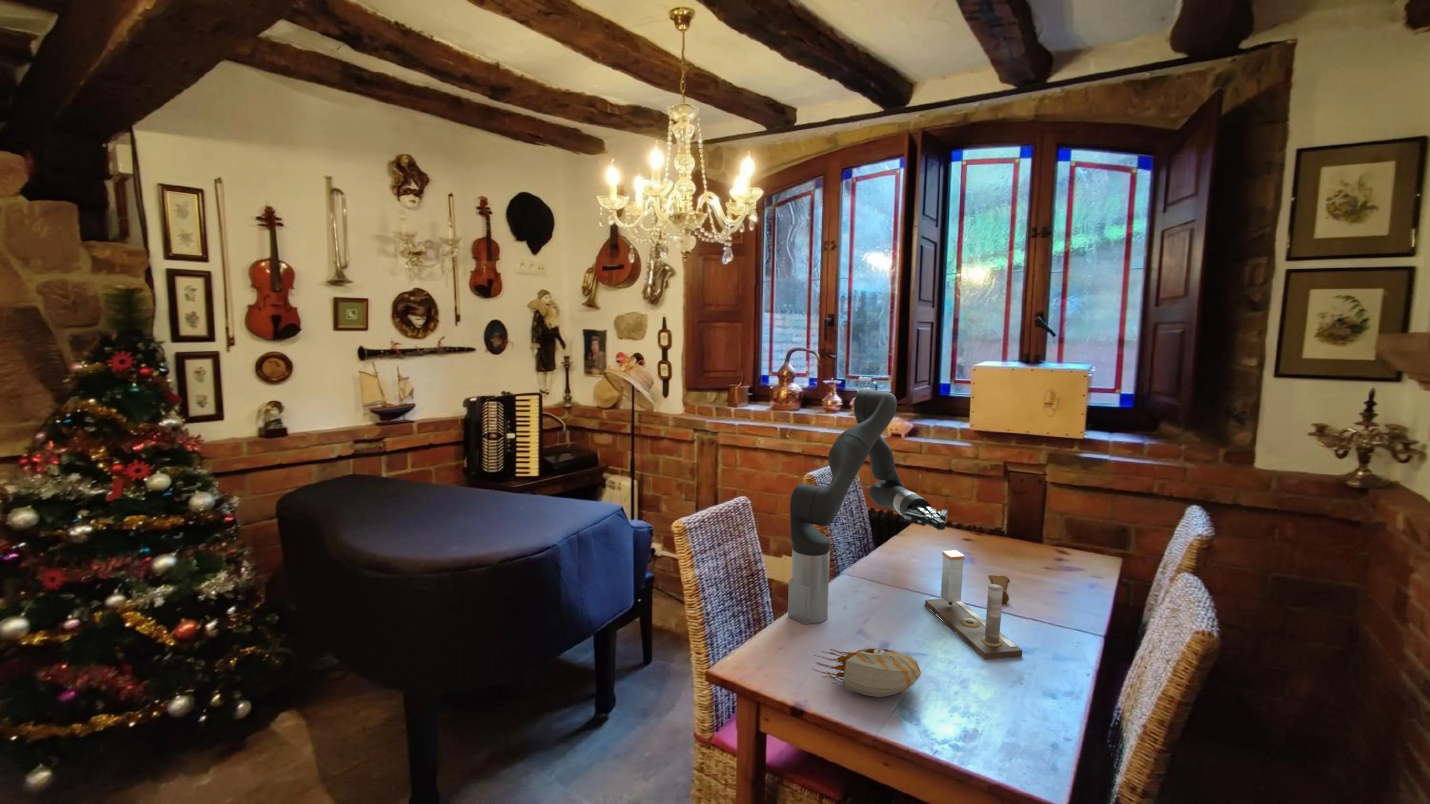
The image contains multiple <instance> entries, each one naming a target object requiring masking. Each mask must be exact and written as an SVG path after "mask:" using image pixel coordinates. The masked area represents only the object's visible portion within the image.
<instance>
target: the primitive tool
mask: <svg viewBox="0 0 1430 804" xmlns="http://www.w3.org/2000/svg"><path fill="white" fill-rule="evenodd" d="M988 579H989V580H990V582H991V584H996V585H1000V586H1002V587H1003V594H1002V604H1007V603H1008V602H1009V601H1010V598H1009V597H1010V596H1009V595H1008V593H1007V586H1008V583H1009V582H1010V578H1009V577H1007V576H1005V575H994V574H993V575H992V574H989V575H988Z"/></svg>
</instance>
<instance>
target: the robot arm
mask: <svg viewBox="0 0 1430 804" xmlns="http://www.w3.org/2000/svg"><path fill="white" fill-rule="evenodd" d="M897 401H898V399H897V398H896V396H895V395H894V394H893V393H892V392H889V391H883V390H871V389H862V390H859V391H858V392H857V393H856V395H855V396H854V400H853V412H854V417H855V419H856V422H857V424H855V425H853V426H851V427H850V428H847V429H846V430H844V431H843V432H842V433H840V434H839V435H838V437H837V438H836V440H835V441H834V443H833V444H832V446H831V448H830V449H829V452H828V458H827V459H828V460H827V461H828V466H829V469H830V473H831V476H832V479H831V482H830V483H829V484H828V485H827V486H824V487H823V486H819V485H812V484H807V483H805V484H804V483H800V484H798V485H796V486H795V487H794V489H793V490H792V492H791V496H790V503H789V520H790V522H789V523H790V524H789V525H790V539H791V544H792V546H791V548H792V549H791V550H792V551H791V578H790V579H789V580H788V592H787V593H788V594H787V595H788V596H787V599H788V601H787V603H788V604H787V616H788V617H789V618H792V619H794V620H795V621H798V622H800V623H802V624H803V625H808V624H819V623H822V622H825V621H826V620H827V619H828V618H829V617H828V615H829V588H830V587H829V586H830V584H829V583H830V580H829V579H830V559H831V558H830V556H831V555H830V554H831V553H830V552H831V542H830V541H831V540H830V538H829V537H828V536H827V535H825V534H824V533H822V532H821V531H820V530H819V529H817V528H816V527H815V526H814V525H816V526H819V527H820V526H821V527H827V526H830V525H831V524H832V523H833V521H834V520H835V519H836V518H837V515H838V513H839V511H840V509H841V507H842V505H843V502H844V500H845V498H846V495H847V493H848V491H849V489H850V487H851V485H852V483H853V482H854V480H855V478H856V476H857V474H858V472H859V471H860V470H861V468H862V467H863V465H864V463H865V461H866V460H867V458H868V457H869V462H870V467H871V473H872V476H873V477H874V479H876V480H878V481H877V482H874V483H873V484H871V486H870V487H869V493H868V494H869V496H870V499H871V501H873V502H874V503H875V504H876V505H878V506H880V507H882V508H883V507H884V508H888V509H893V510H895V511H896V512H897V513H898V514H899V515H900V516H902V517H903V518H904V522H905V523H910V524H913V525H919V526H922V527H925V526H926V525H927V526H929V527H933V528H934V529H937V531H943V530H945V529H946V523H947V522H946V521H947V519H948V509H942V510H940V511H938V510H937V509H936V508H933V507H932V505H931V504H930V502H929V501H928V500H927V499H925V498H924V497H922V496H920V495H919V494H917V493H915V492H913V491H911V490H909V489H907V488H905V485H904V483H903V481H902V480H901V478H900V476H899V474H898V472H897V470H896V469H897V468H896V465H895V457H894V453H893V450H892V448H891V447H890V445H889V443H888V442H887V441H886V440H885V438H884V437H883V436H882V433H883V432H885V430H886V429H887V428H888V426H889V425H890V423H891V422H892V421H893V419H894V416H895V415H896V412H897V408H898V407H897V406H898V403H897Z"/></svg>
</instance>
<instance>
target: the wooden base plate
mask: <svg viewBox="0 0 1430 804" xmlns="http://www.w3.org/2000/svg"><path fill="white" fill-rule="evenodd" d="M1002 594H1003V587H1002V586H1000V585H996V584H992V583H991V584H988V587H987V601H986V614H985V615H986V616H985V619H984V618H983V617H982V616H981V615H980V614H978V613H977V612H976V611H974V610H973V609H972V608H971V607H969V606H968V605H967V604H966V603H965V602H963V601H962V600H961V601H959V602H953V604H952V605H949V604H948V602H947V601H946V600H945V599H943V598H931V599H925V600H924V606H925V605H926V606H927V607H928V608H929V609H928V608H927V607H926V606H925V607H926V608H927V609H928V610H930V609H931V610H932V611H933V612H934V613H935V614H937V615H938V616H939V617H940V618H941V619H942V620H943V621H944V622H945V623H946V624H947V625H948V626H949V627H950V628H951V630H952V632H954V633H955V632H956V633H957V634H958V635H959V636H960V637H961V638H962V639H963V642H965V643H966V644H967V643H968V644H969V645H970V646H971V647H972V648H973V649H974V650H973V649H972V648H971V647H970V646H969V645H968V644H967V645H968V646H969V647H970V648H971V649H972V650H973V651H974V652H976V653H977V655H979V656H980V658H982V659H983V658H984V659H985V660H987V659H988V660H997V658H999V659H1007V658H1006V657H1010V658H1018V657H1017V656H1022V657H1023V649H1022V648H1021V647H1019V646H1018V645H1017V644H1016V643H1014V642H1013V640H1010V639H1009V638H1008V637H1007V636H1006V635H1004V634H1003V633H1002V632H1001V621H1002V619H1001V618H1002V605H1003V603H1002ZM931 610H930V611H931ZM932 611H931V612H932ZM933 612H932V613H933ZM934 613H933V614H934ZM935 614H934V615H935ZM941 619H940V620H941ZM942 620H941V621H942ZM943 621H942V622H943ZM944 622H943V623H944ZM945 623H944V624H945ZM946 624H945V625H946ZM947 625H946V626H947ZM948 626H947V627H948ZM949 627H948V628H949ZM950 628H949V629H950ZM956 633H955V634H956ZM957 634H956V635H957ZM958 635H957V636H958ZM959 636H958V637H959ZM960 637H959V638H960ZM962 639H961V640H962ZM984 659H983V660H984ZM985 660H984V661H985Z"/></svg>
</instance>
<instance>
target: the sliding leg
mask: <svg viewBox="0 0 1430 804" xmlns="http://www.w3.org/2000/svg"><path fill="white" fill-rule="evenodd" d="M941 555H942V568H941V569H942V570H941V571H942V572H941V583H940V584H941V587H940V588H941V589H940V597H941V599H945V600H946V601H947V602H948V604H949V605H952V604H953V602H959V601H962V590H963V589H962V585H963V570H964V560H965V555H964V554H963V553H961V552H959V551H958V550H942V554H941Z"/></svg>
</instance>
